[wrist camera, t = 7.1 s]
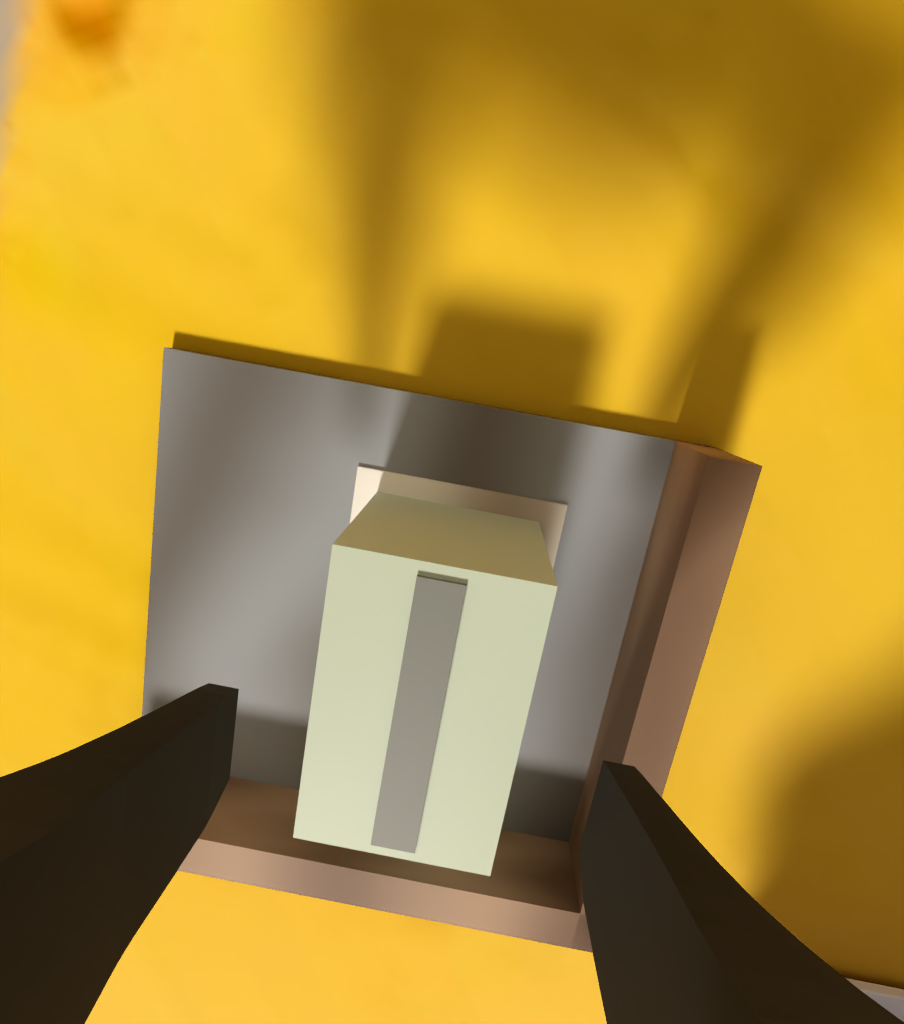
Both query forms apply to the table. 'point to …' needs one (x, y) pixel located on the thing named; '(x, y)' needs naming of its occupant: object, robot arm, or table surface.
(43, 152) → the table surface
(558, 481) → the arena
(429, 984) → the table surface
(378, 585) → the block
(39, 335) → the table surface
